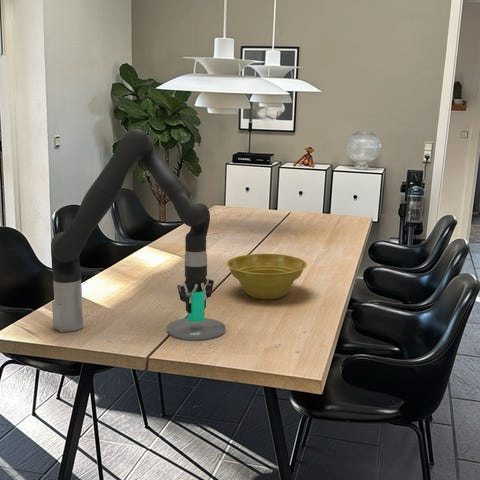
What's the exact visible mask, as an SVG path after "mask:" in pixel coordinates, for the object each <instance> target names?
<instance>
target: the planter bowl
mask: <svg viewBox="0 0 480 480" xmlns="http://www.w3.org/2000/svg"><path fill="white" fill-rule="evenodd" d="M226 266H227V267H228V268H229V270H230V273H231V275H232V277H234V279H236V280H238V281H239V284H240V286H241V288H242V290H243V291H244V292H245V293H246V294H247V295H248V296H250V297H251V298H254V299H257V300H275V299H280V298H282V297H283V296H285V295H287V293H288V292H289V290H290V289H291V287H292V286H293V284H294V282H295V281H296V280H298V279H299V278H300V277H301V276H302V273H303V271H304V269H306V267H307V266H308V264H307V261H305V260H304V259H302V258H299V257H296V256H292V255H287V254H280V253H250V254H243V255H240V256H239V255H238V256H235V257H232V258H230V259H228V260H227V261H226Z"/></svg>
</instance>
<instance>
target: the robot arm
mask: <svg viewBox="0 0 480 480" xmlns="http://www.w3.org/2000/svg"><path fill="white" fill-rule="evenodd" d="M136 161H137V162H138V163H139V164H140V165H142V166H143V167H144V168H145V169H146V170H147V171H148V172H149V174H150V175H151V176H152V178H153V179H154V180H155V182H156V183H157V185H158V187H159V188H160V190H161V191H162V193H164V195H165V196H166V197H167V198H168V200H169V201H170V202H171V203H172V204H173V207H174V209H175V212H176V213H177V215H178V217H179V219H180V221H181V222H182V223H183V224H184V225H186V226H187V227H190V230H189V232H188V233H187V234H185V236H184V237H185V239H184V240H185V241H184V242H185V243H184V244H185V246H184V247H185V249H184V250H185V253H184V277H185V279H184V283H182V284H178V285H177V291H178V295H179V298H180V301H182V302H183V303H185V312H186V314H187V313H190V314H191V312H192V311H191V303H192V297H193V292H199V291H204V311H206V308H207V299H208V298H210V297H212V292H213V287H214V283H215V281H214V280H213V279H210V278H207V276H208V254H207V236H208V231H209V226H210V222H211V221H210V220H211V213H210V209H209V207H208V205H206V204H204V203H200V202H198V203H195V204H193V203H192V202H191V199H190V198H191V195H192V193H191V191H190V190H189V189H188V188H187V186H186V184H184V183H183V181H182V180H181V179H180V178H179V177H178V176H177V174H176V173H175V172H174V171H173V170H172V169H171V168H170V167H169V165H167V163H166V162H165V161H164V159H163V158H162V156H160V154H159V152H158V149H157V148H156V147H155V145H154V143H153V141H152V138H150V136H149V135H148V134H147V133H146V132H145V131H144V130H142V129H140V128H131V129H130V130H128V131H126V132H125V134H123V136H122V137H121V140H120V142H119V143H118V145H117V146H116V149H115V151H114V152H113V154H112V156H111V158H110V159H109V161H108V162H107V164H106V165H105V166H104V168H103V169H102V170H101V172H100V173H99V175H98V176H97V177H96V179H95V180H94V181H93V183H92V185H90V187H89V189H88V191H87V192H86V193H85V195H84V197H83V199H82V200H81V203H80V206H79V208H78V209H77V212H76V214H75V217H74V219H73V220H72V222H71V223H70V225H69V226H68V227H67V228H66V230H64V231H59V232H58V233H56V234H55V235H54V237H53V238H52V239H51V242H50V253H51V255H50V256H51V270H52V280H53V296H54V297H53V299H54V300H52V301H51V306H52V307H51V308H52V324H53V325H52V326H53V329H55V330H57V331H58V332H59V333H64V332H65V333H66V332H69V333H70V332H75V331H79V330H81V329H83V327H84V316H83V314H84V313H83V293H82V292H83V291H82V271H81V264H80V254H81V253H82V251H83V249H84V247H85V246H86V243H87V241H88V240H89V238H90V237H91V234H92V233H93V231H94V230H95V228H97V226H98V225H99V223H100V222H101V221H102V220H103V218H104V217H105V216H106V214H107V213H108V211H109V210H110V209H111V208H112V206H113V205H114V203H115V202H116V200H117V199H118V197H119V195H120V194H121V191H122V188H123V185H124V183H125V179H126V176H127V174H128V172H129V171H130V169H131V168H132V166H133V165H134V163H135V162H136ZM187 291H190V292H192V293H191V294H189V293H187ZM188 295H189V296H190V297H189V299H188Z"/></svg>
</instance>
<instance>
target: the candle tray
mask: <svg viewBox="0 0 480 480" xmlns="http://www.w3.org/2000/svg"><path fill="white" fill-rule="evenodd" d="M166 333H167V334H168V335H169V337H172V338H173V339H177V340H182V341H187V342H188V341H190V342H198V341H209V340H214V339H216V338H219V337H222V336H223V335H224V334H225V333H226V324H224V323H223V322H222V321H219V320H217V319H214V318H208V317H204V320H203V321H200V322H191V321H188V320H187V317H186V318H185V317H184V318H180V319H176V320H173V321H171V322H170V323H168V325H167V326H166Z"/></svg>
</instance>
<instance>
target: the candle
mask: <svg viewBox="0 0 480 480" xmlns="http://www.w3.org/2000/svg"><path fill="white" fill-rule="evenodd" d="M186 291H187V290H186ZM187 293H189V294H191V293H192V292H190V291H187ZM189 297H190V296H189V295H188V299H189ZM191 311H192V312H191V314H190V313H187V312H186V314H187V315H186V316H187V317H186V318H187V320H188V321H191V322H200V321H203V320H204V318H205V310H204V291H199V292H193V297H192V303H191Z"/></svg>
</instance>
